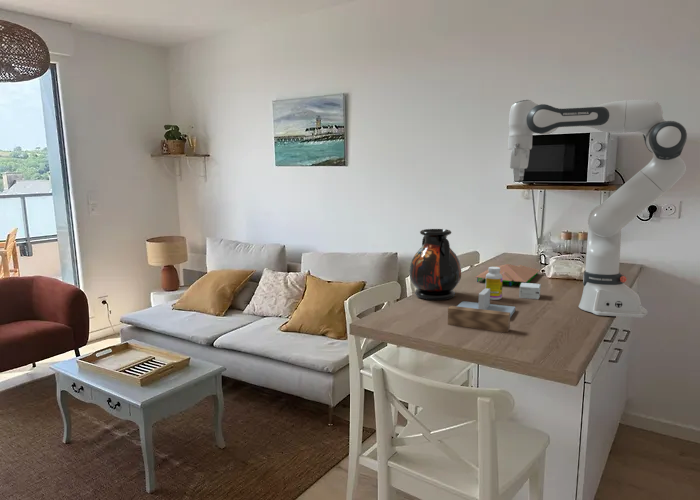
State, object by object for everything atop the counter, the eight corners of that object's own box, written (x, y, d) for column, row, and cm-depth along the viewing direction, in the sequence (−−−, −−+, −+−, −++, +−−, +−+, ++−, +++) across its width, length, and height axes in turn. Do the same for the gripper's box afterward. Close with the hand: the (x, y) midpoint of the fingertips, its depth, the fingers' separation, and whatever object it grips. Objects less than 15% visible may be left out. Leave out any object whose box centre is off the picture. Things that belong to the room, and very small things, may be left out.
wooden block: (509, 330, 162) (510, 312, 161) (507, 333, 159) (508, 315, 158) (450, 322, 171) (451, 305, 170) (447, 325, 168) (448, 308, 167)
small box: (518, 298, 202) (519, 286, 201) (520, 293, 209) (521, 282, 208) (538, 300, 198) (539, 287, 198) (540, 295, 205) (540, 283, 205)
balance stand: (515, 310, 183) (515, 289, 182) (508, 320, 171) (509, 298, 170) (462, 304, 193) (462, 285, 191) (452, 314, 180) (452, 293, 179)
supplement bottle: (502, 300, 198) (503, 269, 196) (485, 300, 199) (486, 269, 197) (501, 296, 204) (501, 266, 202) (484, 296, 205) (485, 266, 203)
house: (473, 285, 227) (473, 267, 226) (493, 272, 255) (493, 256, 254) (524, 290, 215) (524, 272, 214) (539, 276, 243) (540, 260, 242)
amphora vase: (400, 293, 213) (400, 229, 208) (442, 288, 221) (443, 226, 216) (425, 305, 193) (426, 234, 189) (471, 299, 201) (473, 231, 197)
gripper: (524, 142, 177) (523, 181, 180) (532, 145, 195) (530, 180, 198) (506, 143, 180) (505, 181, 183) (515, 145, 198) (514, 180, 200)
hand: (518, 180), depth 190 cm, fingers open, 8 cm apart
